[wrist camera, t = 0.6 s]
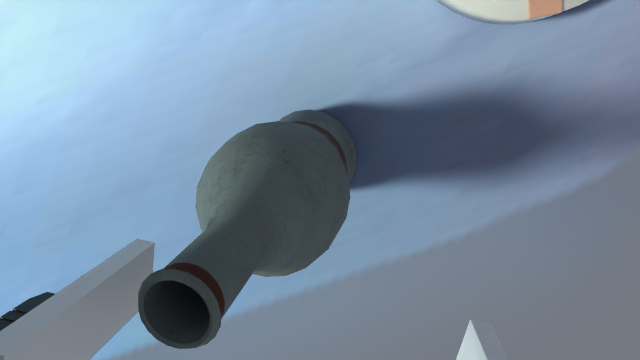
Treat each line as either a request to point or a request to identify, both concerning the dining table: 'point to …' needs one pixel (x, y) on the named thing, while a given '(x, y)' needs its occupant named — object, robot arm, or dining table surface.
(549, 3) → the wheel base
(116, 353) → the dining table surface
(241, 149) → the bottle
